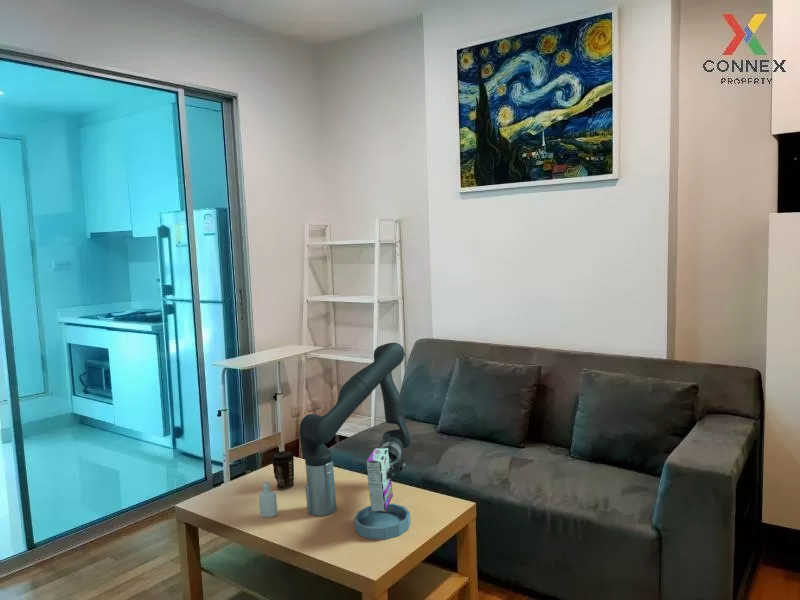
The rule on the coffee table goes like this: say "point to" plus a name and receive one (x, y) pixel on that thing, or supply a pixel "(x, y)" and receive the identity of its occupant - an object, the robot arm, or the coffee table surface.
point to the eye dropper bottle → (267, 502)
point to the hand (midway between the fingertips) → (379, 476)
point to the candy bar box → (379, 479)
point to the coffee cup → (283, 469)
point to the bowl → (382, 522)
